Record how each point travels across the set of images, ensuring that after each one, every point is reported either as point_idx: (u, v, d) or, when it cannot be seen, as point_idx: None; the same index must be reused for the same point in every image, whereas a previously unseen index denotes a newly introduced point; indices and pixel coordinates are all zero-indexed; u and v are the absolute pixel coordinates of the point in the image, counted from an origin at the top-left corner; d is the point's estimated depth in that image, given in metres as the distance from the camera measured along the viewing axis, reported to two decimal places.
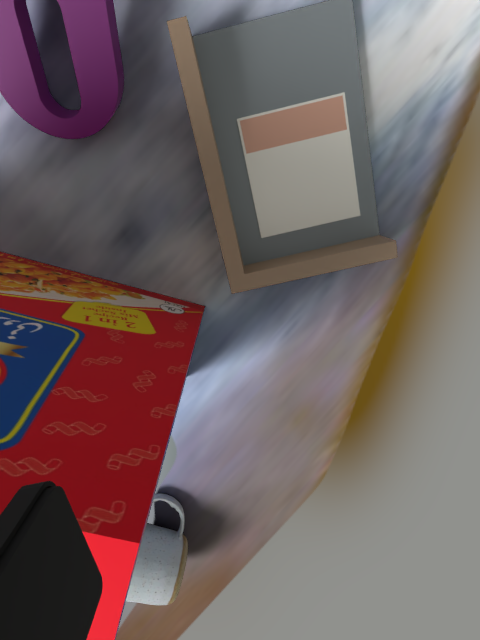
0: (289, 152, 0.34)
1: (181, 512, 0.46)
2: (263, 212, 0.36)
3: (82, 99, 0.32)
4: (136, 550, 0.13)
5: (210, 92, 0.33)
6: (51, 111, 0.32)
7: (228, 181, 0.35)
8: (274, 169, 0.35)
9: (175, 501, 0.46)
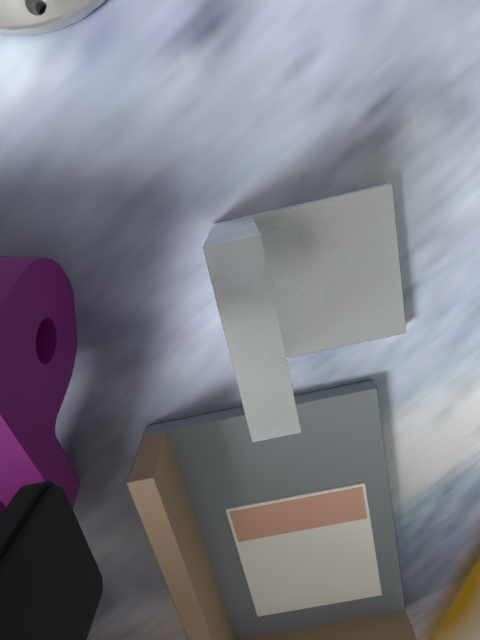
0: (293, 539, 0.27)
1: None
2: (260, 594, 0.29)
3: None
4: None
5: (190, 483, 0.25)
6: None
7: (216, 565, 0.28)
8: (274, 555, 0.27)
9: None
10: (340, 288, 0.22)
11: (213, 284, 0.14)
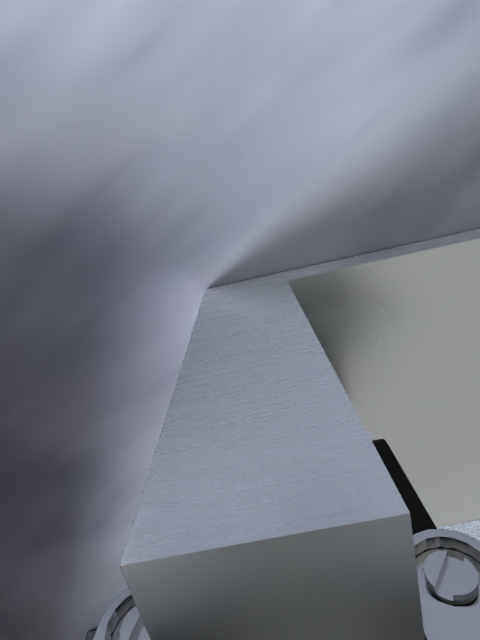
0: None
1: None
2: None
3: None
4: None
5: None
6: None
7: None
8: None
9: None
10: (465, 421, 0.11)
11: None
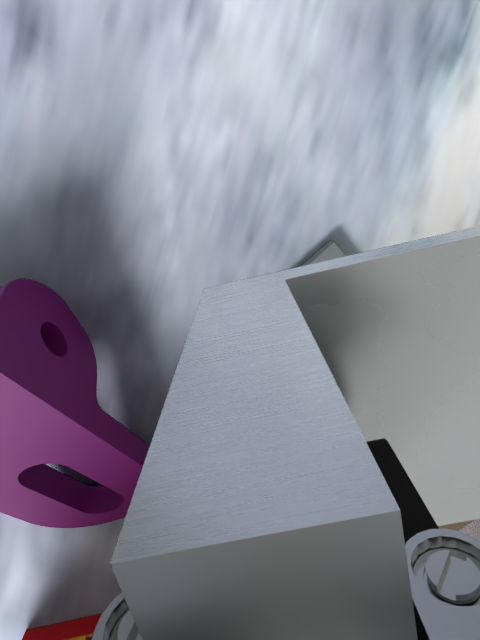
0: None
1: None
2: None
3: (122, 494, 0.28)
4: None
5: None
6: (98, 510, 0.30)
7: None
8: None
9: None
10: (464, 420, 0.10)
11: None
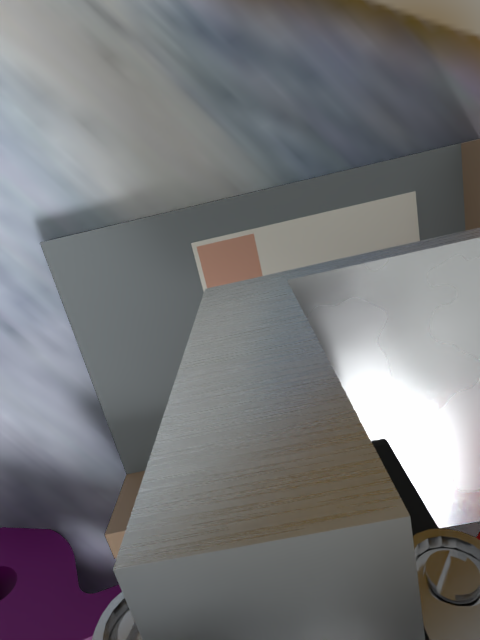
0: None
1: None
2: None
3: None
4: None
5: None
6: None
7: None
8: None
9: None
10: (466, 422, 0.10)
11: None
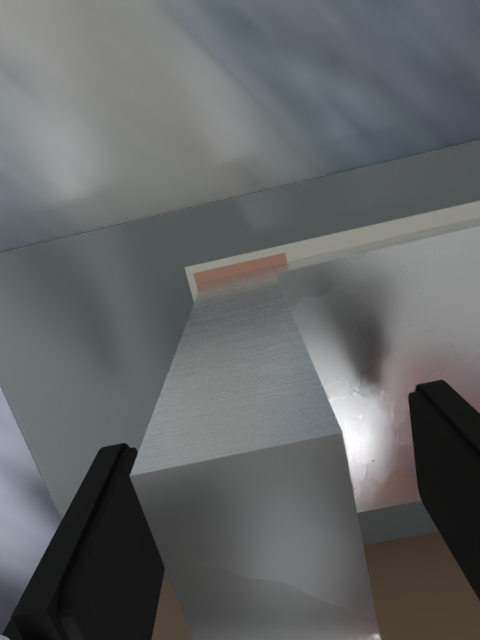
0: None
1: None
2: None
3: None
4: None
5: None
6: None
7: (391, 533, 0.14)
8: None
9: None
10: None
11: (174, 576, 0.04)
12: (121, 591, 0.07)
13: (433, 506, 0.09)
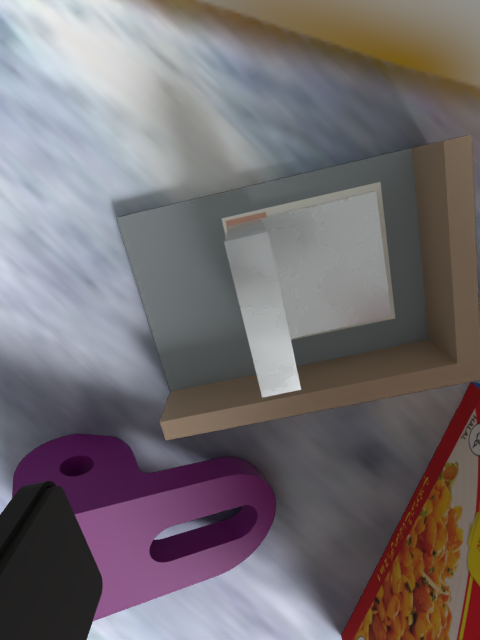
0: None
1: None
2: None
3: (242, 504, 0.30)
4: None
5: (223, 375, 0.29)
6: (250, 527, 0.32)
7: (321, 356, 0.29)
8: None
9: None
10: (335, 278, 0.26)
11: (232, 270, 0.19)
12: None
13: None
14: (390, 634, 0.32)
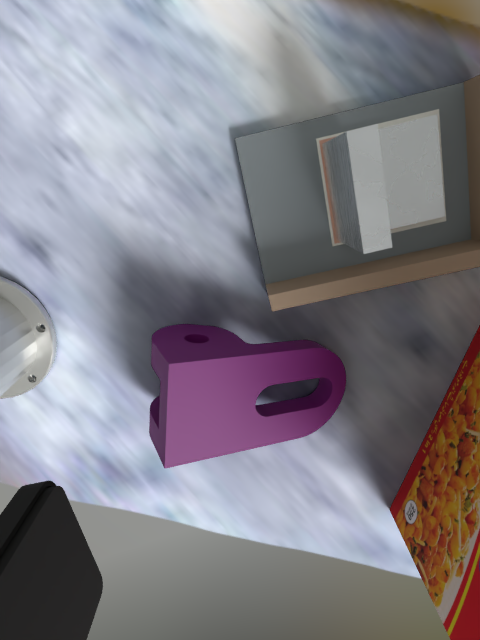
0: None
1: None
2: None
3: (322, 376, 0.38)
4: None
5: (308, 270, 0.37)
6: (325, 399, 0.40)
7: (386, 254, 0.36)
8: None
9: None
10: (403, 185, 0.34)
11: (349, 153, 0.26)
12: None
13: None
14: (437, 485, 0.40)
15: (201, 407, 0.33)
